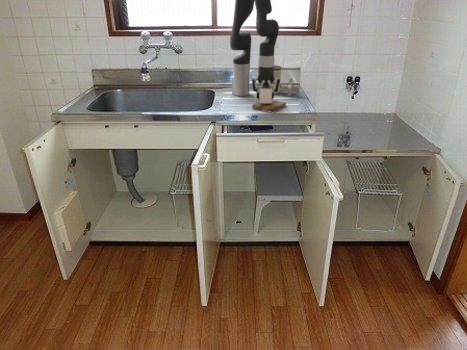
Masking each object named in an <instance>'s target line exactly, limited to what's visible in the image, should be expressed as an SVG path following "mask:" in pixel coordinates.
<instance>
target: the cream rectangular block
mask: <svg viewBox="0 0 467 350" xmlns="http://www.w3.org/2000/svg"><path fill="white" fill-rule="evenodd" d="M272 100H273V99H272V88H270V86H269V87H267V86H265V87H263V86H262V88H261V89H260V91H259V100H258V102H259V103H271V102H272Z"/></svg>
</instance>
